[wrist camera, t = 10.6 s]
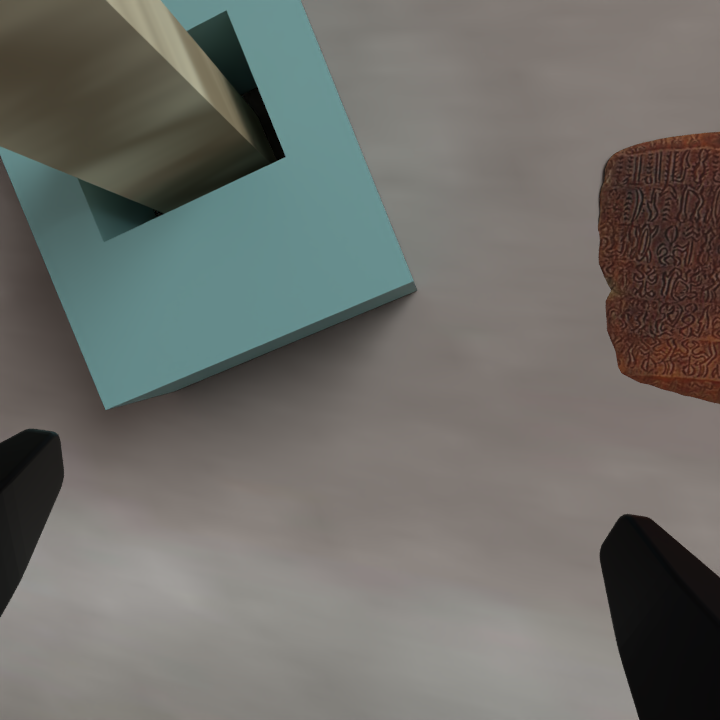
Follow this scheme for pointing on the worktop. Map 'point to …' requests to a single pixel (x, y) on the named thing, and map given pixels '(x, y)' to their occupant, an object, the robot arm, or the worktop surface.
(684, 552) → the robot arm
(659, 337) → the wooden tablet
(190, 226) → the end cap
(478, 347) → the worktop surface
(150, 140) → the slat
